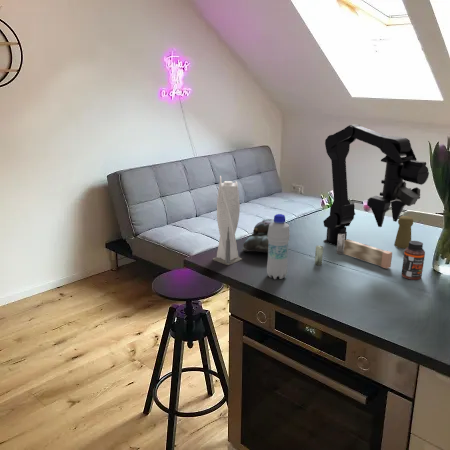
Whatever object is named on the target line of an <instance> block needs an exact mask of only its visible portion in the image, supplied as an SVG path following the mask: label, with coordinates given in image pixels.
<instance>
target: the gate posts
mask: <svg viewBox="0 0 450 450" xmlns="http://www.w3.org/2000/svg"><path fill="white" fill-rule="evenodd" d="M344 242H345V234H344V233H338V241H337V246H336V254H337V255H345V254H344ZM323 256H324V246H323V245H316V246H315V256H314V265H315V266H322V265H323Z"/></svg>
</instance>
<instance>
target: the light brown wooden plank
mask: <svg viewBox="0 0 450 450" xmlns="http://www.w3.org/2000/svg"><path fill="white" fill-rule="evenodd" d="M343 255H346V256H350V257H352V258H355V259H358V260H361V261H364V262H367V263H370V264H373V265H376V266H379V267H380V268H384V269H386V270H387V269H389V268H391V267H392V261H393V260H392V258H393V251H389V250H384V249H380V248H378V247H375V246H371V245H367V244H364V243H361V242H358V241H355V240H352V239H349V238H348V239H347V238H346V240H345V242H344V254H343Z"/></svg>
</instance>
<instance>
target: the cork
mask: <svg viewBox="0 0 450 450" xmlns="http://www.w3.org/2000/svg"><path fill="white" fill-rule="evenodd" d="M397 223H398V229H397V232H396V236H395V240H394V244H393V245H394V247H396V248H399V249H403V250H405V249H406V248H407V247H408V246H409V242H410V241H412V226H414V218H413V217H411V216H407V215H402V216H399V218H398V220H397Z"/></svg>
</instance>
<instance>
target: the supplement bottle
mask: <svg viewBox="0 0 450 450" xmlns="http://www.w3.org/2000/svg"><path fill="white" fill-rule="evenodd" d="M423 245H424V243H423V242H421V241H420V240H419V241H418V240H411V241H410V242H409V246H408V247H407V248H406V249H404V252H403V261H402V268H401V276H402V277H403V278H405V279H407V280H410V281H418V280H420V279H422V276H423V272H424V263H425V262H424V261H425V255H426V251H425V250H424V248H423V247H424V246H423Z"/></svg>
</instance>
